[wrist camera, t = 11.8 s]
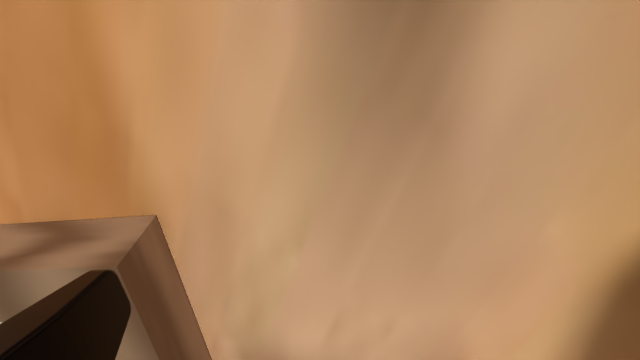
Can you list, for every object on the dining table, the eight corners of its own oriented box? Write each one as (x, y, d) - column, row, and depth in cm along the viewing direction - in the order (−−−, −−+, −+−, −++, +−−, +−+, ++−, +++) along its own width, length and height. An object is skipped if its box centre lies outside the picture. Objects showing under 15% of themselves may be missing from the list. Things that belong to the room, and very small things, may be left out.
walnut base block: (155, 215, 25) (116, 266, 22) (217, 376, 31) (194, 436, 27) (-41, 227, 27) (-105, 275, 24) (50, 374, 33) (9, 429, 30)
